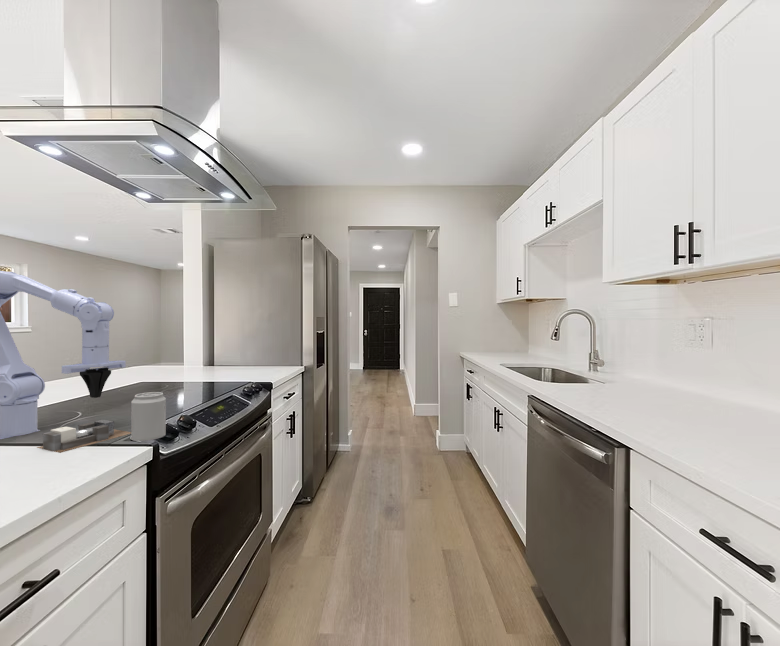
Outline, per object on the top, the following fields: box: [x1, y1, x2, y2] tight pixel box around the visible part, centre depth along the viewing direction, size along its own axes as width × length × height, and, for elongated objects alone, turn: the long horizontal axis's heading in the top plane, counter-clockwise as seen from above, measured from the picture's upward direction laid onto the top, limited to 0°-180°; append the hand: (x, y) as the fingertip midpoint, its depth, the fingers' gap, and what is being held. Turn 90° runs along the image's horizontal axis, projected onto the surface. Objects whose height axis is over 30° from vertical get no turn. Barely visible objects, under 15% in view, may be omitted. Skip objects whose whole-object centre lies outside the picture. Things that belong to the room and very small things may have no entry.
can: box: [130, 391, 167, 442], centre depth 95 cm, size 8×8×12 cm
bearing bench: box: [36, 422, 131, 454], centre depth 92 cm, size 9×16×4 cm, turn 159°
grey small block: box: [76, 419, 115, 439], centre depth 93 cm, size 4×8×3 cm, turn 159°
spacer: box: [50, 426, 77, 443], centre depth 87 cm, size 4×3×4 cm
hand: (95, 397), depth 100 cm, fingers closed
